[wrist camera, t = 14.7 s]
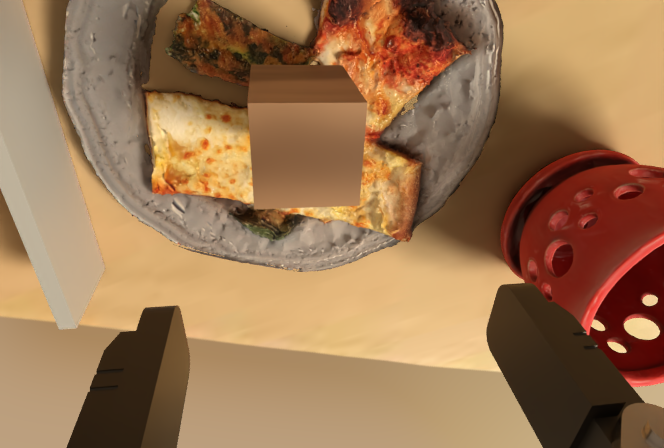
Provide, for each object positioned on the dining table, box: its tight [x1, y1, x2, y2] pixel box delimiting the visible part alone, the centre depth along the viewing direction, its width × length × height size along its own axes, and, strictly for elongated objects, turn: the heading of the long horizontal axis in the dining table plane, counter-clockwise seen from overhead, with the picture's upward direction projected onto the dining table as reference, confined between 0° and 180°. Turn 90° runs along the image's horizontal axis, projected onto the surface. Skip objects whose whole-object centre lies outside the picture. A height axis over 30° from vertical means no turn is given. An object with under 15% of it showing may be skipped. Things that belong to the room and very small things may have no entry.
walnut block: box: [248, 65, 367, 209], centre depth 23 cm, size 5×5×7 cm
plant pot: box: [501, 150, 664, 387], centre depth 30 cm, size 13×13×12 cm
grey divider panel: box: [0, 0, 105, 330], centre depth 24 cm, size 20×1×6 cm, turn 179°
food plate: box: [62, 0, 504, 272], centre depth 27 cm, size 25×23×4 cm
